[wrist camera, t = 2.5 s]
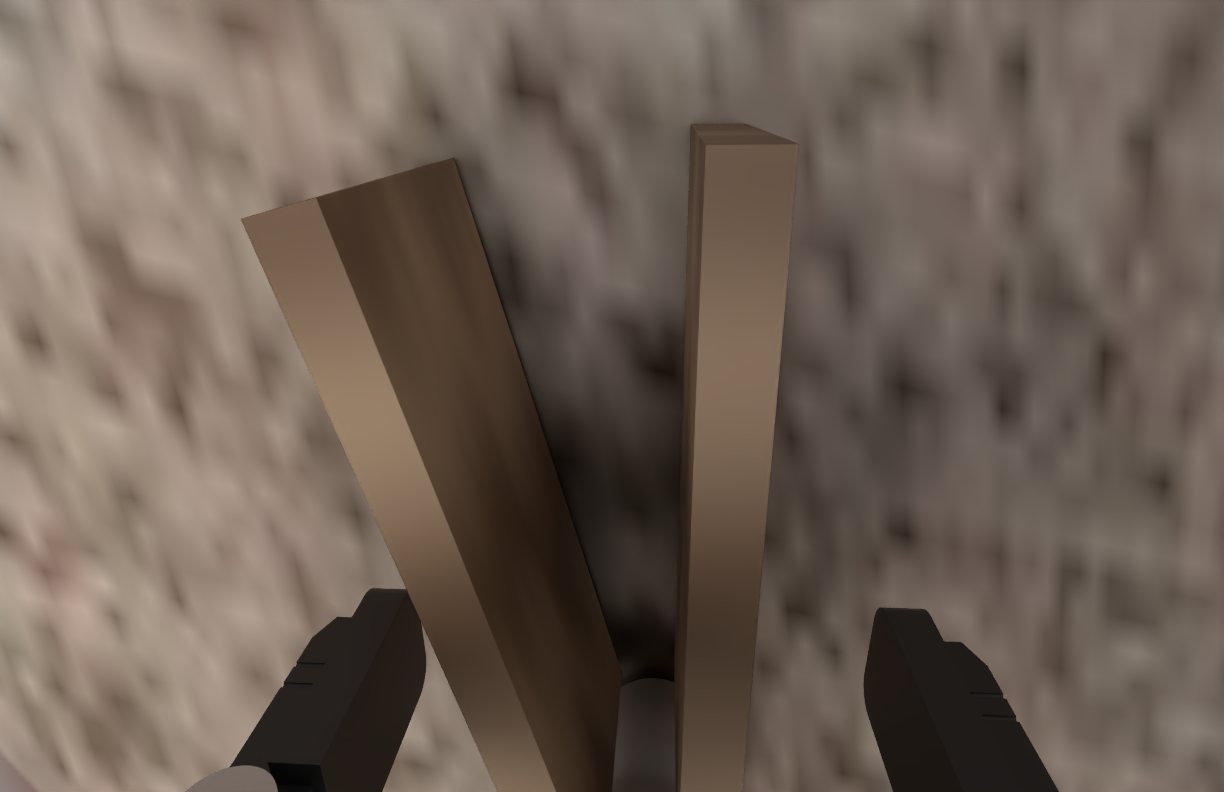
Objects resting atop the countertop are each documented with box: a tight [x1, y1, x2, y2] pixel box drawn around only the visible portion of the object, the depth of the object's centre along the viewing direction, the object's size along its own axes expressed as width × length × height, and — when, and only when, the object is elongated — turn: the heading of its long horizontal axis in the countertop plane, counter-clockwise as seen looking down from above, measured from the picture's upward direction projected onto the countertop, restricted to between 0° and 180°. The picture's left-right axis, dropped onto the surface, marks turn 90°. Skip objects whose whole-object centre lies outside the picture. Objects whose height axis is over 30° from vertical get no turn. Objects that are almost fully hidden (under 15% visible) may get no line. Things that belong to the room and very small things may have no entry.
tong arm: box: [241, 158, 676, 792], centre depth 14 cm, size 16×3×6 cm, turn 15°
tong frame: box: [674, 124, 799, 792], centre depth 14 cm, size 20×4×7 cm, turn 1°
